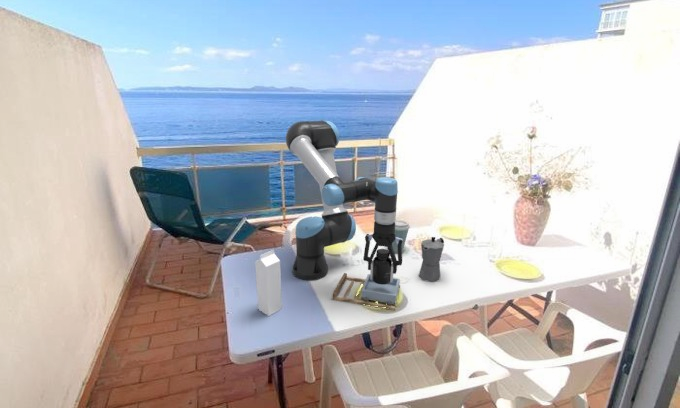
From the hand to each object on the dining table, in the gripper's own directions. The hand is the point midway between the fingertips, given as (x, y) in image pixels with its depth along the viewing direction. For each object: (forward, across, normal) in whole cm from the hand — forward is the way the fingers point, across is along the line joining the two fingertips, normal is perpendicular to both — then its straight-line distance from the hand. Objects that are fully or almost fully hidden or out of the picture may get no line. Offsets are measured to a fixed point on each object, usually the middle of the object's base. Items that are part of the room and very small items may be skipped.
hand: (381, 279), depth 129 cm
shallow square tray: (+7, 0, 0) cm, 7 cm away
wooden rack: (+7, -5, 0) cm, 8 cm away
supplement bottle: (+1, 0, 0) cm, 1 cm away
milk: (+7, -36, -20) cm, 42 cm away
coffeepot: (+7, +18, +22) cm, 29 cm away
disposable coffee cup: (+7, +1, +43) cm, 43 cm away
